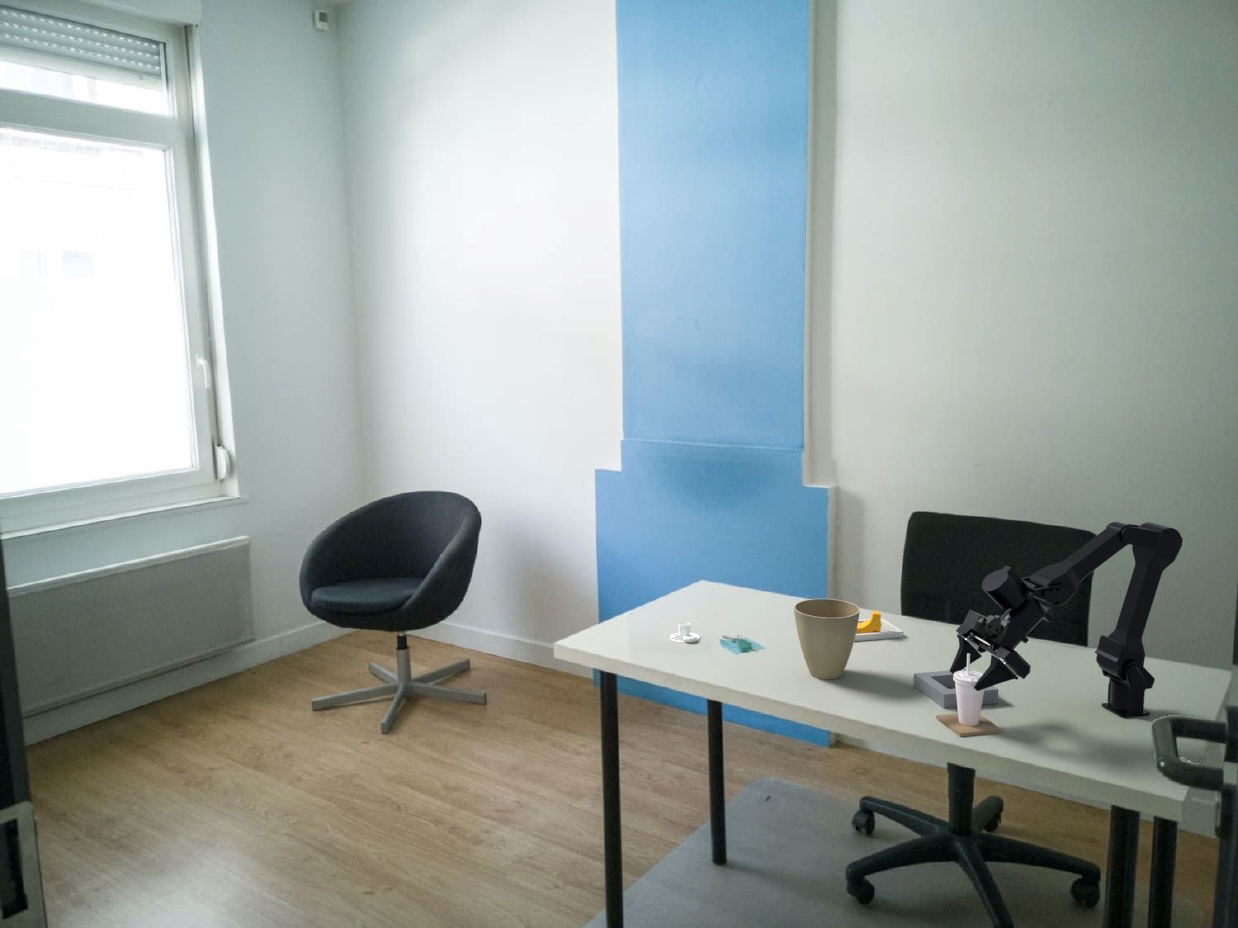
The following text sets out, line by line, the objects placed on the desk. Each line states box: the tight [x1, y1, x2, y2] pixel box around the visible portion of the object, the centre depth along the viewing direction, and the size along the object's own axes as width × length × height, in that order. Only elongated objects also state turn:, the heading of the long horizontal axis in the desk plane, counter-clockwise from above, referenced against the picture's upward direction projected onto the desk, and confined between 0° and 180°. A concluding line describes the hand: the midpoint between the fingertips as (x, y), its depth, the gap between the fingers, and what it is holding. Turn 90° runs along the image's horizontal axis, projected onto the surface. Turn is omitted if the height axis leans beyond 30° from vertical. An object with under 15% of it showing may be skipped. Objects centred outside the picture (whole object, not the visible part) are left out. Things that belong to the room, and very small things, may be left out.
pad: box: [935, 712, 1003, 737], centre depth 183 cm, size 9×9×1 cm
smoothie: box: [953, 654, 984, 726], centre depth 182 cm, size 6×6×14 cm
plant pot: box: [793, 598, 861, 680], centre depth 211 cm, size 15×15×16 cm
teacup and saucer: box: [669, 621, 701, 643], centre depth 240 cm, size 9×8×4 cm
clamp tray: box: [854, 617, 904, 642], centre depth 242 cm, size 12×18×2 cm, turn 101°
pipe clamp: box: [856, 610, 882, 634], centre depth 240 cm, size 12×4×6 cm, turn 79°
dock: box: [912, 668, 999, 709], centre depth 199 cm, size 13×13×3 cm
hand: (963, 680), depth 182 cm, fingers open, 9 cm apart
